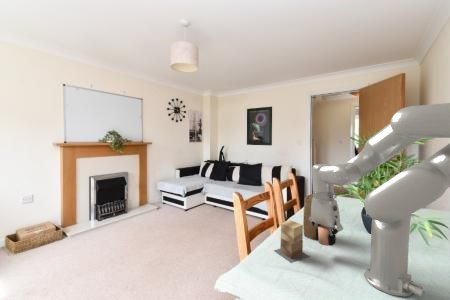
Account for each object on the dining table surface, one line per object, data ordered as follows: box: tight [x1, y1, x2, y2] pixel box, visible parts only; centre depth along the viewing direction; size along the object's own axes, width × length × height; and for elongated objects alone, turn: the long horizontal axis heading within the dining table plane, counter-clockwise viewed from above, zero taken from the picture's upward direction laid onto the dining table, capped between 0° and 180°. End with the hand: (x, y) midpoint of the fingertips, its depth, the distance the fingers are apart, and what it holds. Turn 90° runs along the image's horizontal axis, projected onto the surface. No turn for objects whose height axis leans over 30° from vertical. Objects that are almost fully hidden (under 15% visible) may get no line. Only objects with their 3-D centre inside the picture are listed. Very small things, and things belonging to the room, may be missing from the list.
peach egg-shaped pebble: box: [318, 225, 331, 247], centre depth 83 cm, size 5×5×6 cm
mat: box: [273, 247, 311, 264], centre depth 86 cm, size 10×10×1 cm
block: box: [302, 193, 317, 241], centre depth 102 cm, size 11×8×20 cm
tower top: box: [280, 219, 304, 244], centre depth 85 cm, size 6×6×6 cm
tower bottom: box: [279, 237, 304, 259], centre depth 86 cm, size 6×6×6 cm
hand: (325, 241), depth 83 cm, fingers closed on peach egg-shaped pebble, 4 cm apart
